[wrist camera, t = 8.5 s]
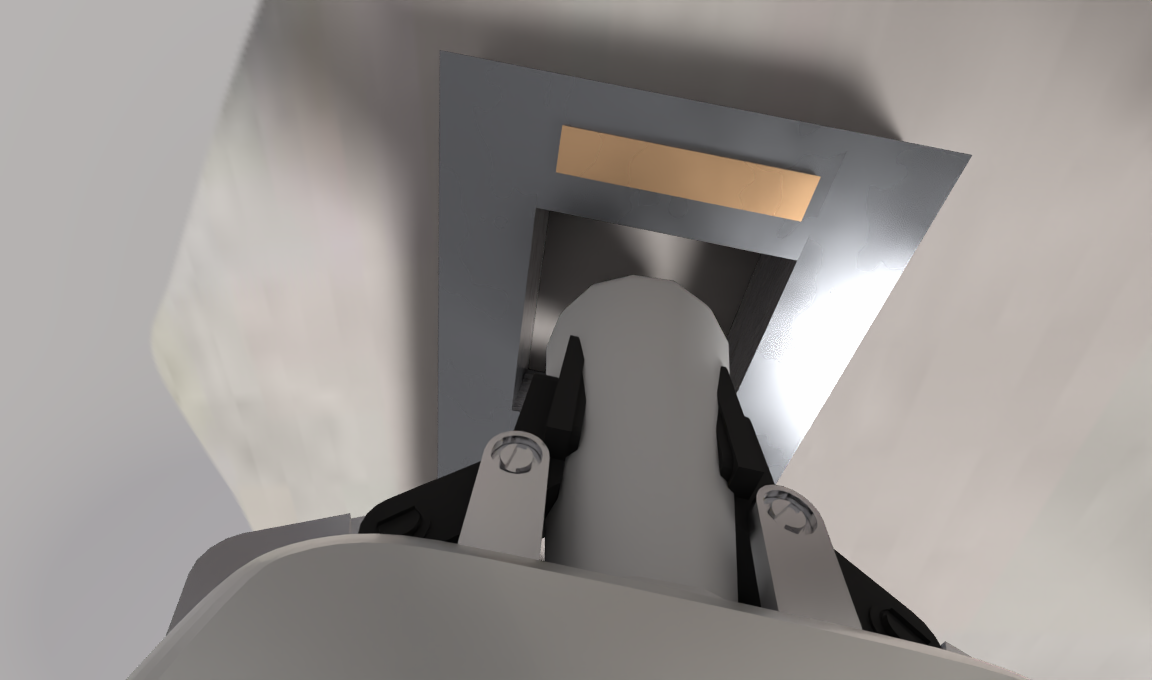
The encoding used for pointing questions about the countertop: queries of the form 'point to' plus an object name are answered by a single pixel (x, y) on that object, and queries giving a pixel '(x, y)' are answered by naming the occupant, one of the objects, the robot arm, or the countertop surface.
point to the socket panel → (671, 206)
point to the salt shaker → (645, 441)
